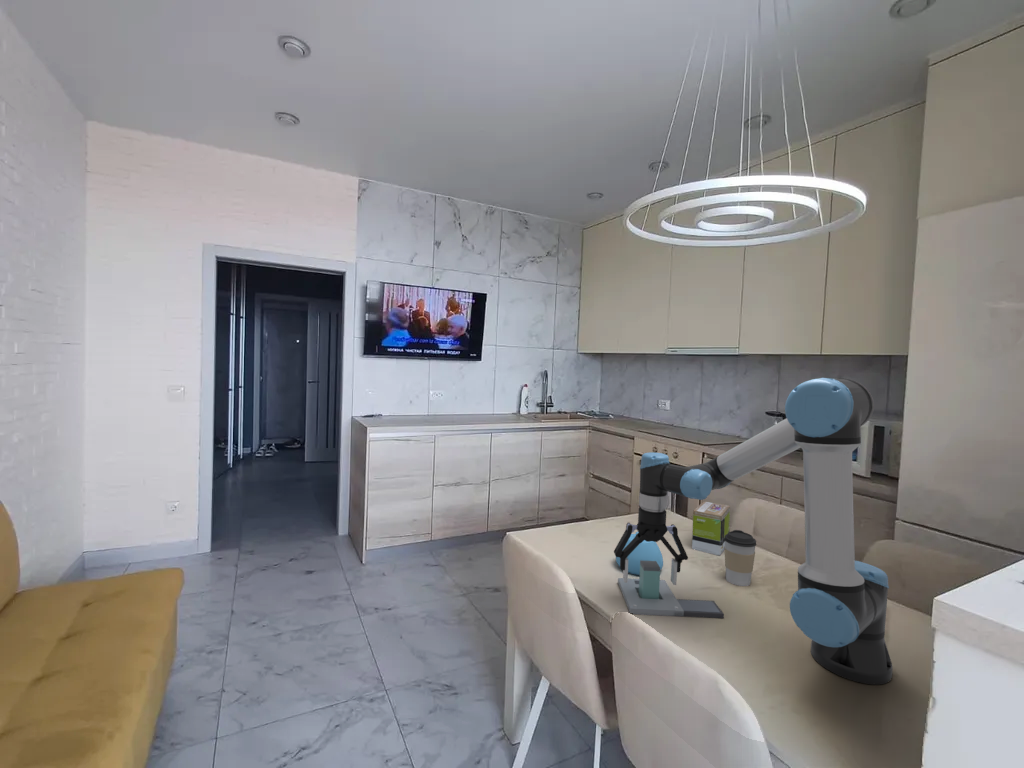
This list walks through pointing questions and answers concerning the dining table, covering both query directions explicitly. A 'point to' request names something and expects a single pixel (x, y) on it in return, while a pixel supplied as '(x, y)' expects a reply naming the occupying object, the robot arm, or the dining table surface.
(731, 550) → the coffee cup
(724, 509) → the tea box
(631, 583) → the outlet plate
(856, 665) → the robot arm
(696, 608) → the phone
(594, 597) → the dining table surface
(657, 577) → the charger block
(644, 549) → the sugar bowl
